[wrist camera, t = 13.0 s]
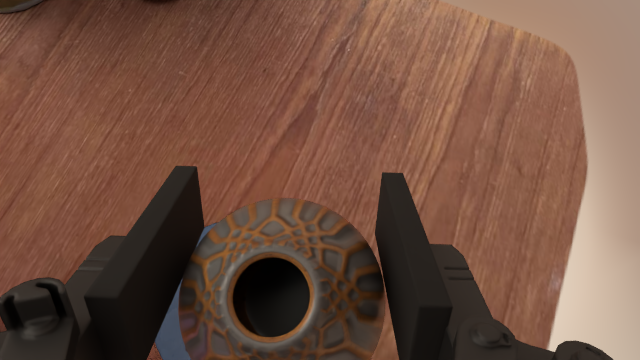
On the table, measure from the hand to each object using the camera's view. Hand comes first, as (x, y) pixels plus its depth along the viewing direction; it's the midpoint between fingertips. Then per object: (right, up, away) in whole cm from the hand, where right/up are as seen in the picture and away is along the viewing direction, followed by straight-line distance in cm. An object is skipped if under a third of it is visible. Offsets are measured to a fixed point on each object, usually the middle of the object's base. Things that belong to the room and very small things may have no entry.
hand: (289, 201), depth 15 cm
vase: (0, -4, +3) cm, 5 cm away
